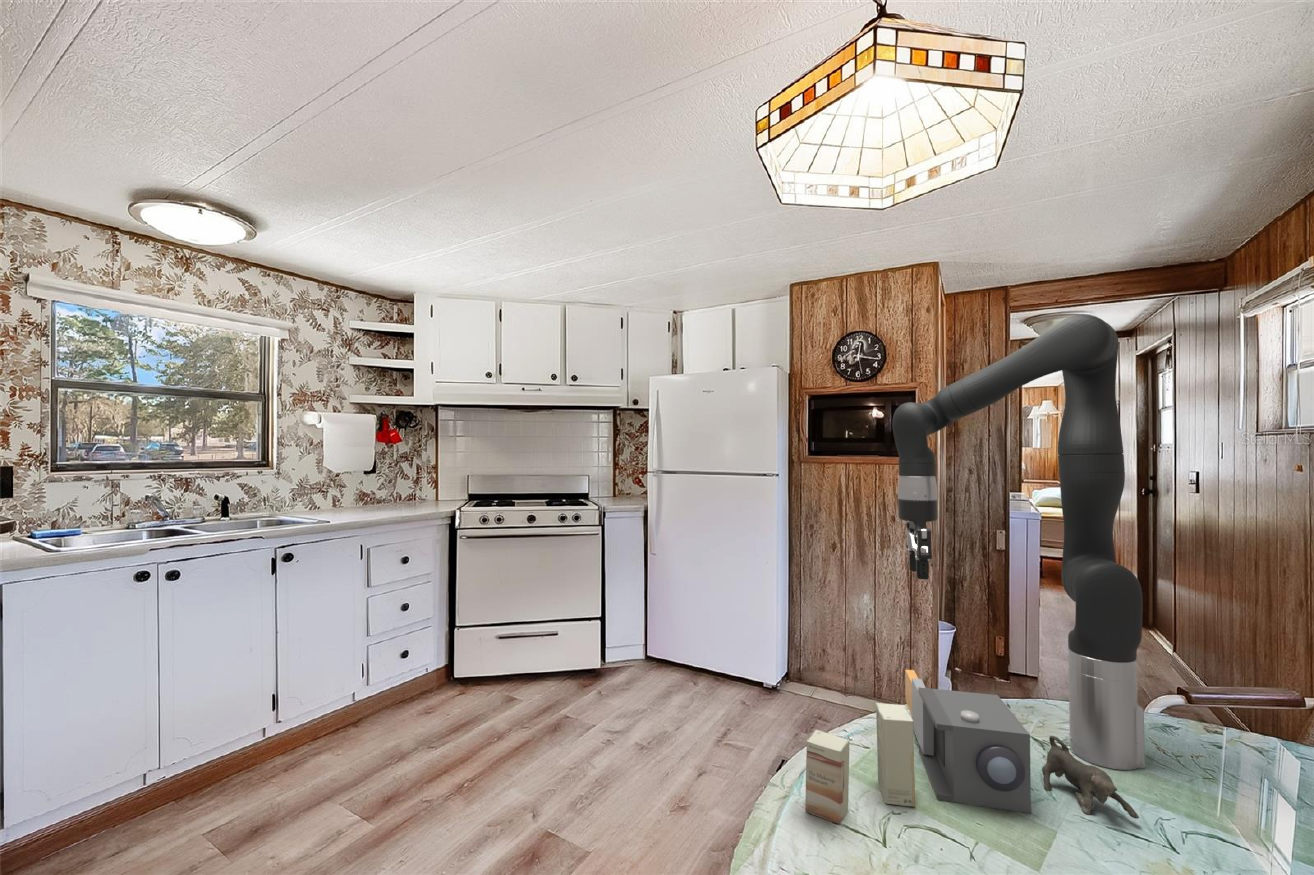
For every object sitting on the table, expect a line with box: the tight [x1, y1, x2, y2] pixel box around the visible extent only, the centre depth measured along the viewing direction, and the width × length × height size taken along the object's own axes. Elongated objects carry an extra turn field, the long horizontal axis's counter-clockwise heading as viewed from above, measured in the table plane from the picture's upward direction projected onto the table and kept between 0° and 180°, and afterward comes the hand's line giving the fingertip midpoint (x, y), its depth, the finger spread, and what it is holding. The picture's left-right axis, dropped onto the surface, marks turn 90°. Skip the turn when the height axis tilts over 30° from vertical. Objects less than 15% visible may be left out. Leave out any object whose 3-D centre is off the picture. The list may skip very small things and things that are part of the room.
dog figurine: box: [1041, 735, 1140, 820], centre depth 84 cm, size 12×6×7 cm, turn 9°
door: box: [904, 669, 934, 756], centre depth 103 cm, size 2×17×9 cm, turn 166°
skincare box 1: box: [804, 729, 850, 824], centre depth 82 cm, size 5×4×10 cm
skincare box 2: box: [875, 702, 916, 807], centre depth 86 cm, size 6×4×12 cm
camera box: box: [918, 687, 1032, 814], centre depth 89 cm, size 12×15×12 cm
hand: (918, 575), depth 120 cm, fingers open, 8 cm apart
